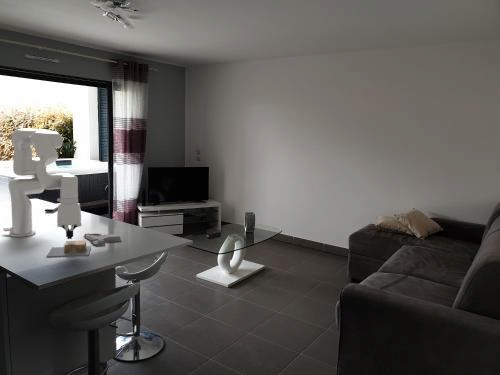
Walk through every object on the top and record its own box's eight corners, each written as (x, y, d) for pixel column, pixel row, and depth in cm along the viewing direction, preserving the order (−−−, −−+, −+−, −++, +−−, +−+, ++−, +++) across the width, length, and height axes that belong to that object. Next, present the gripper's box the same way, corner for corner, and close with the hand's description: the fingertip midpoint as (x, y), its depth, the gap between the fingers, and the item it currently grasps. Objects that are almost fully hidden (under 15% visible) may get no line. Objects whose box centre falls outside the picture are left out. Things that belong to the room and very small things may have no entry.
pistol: (125, 237, 207) (94, 241, 197) (125, 242, 208) (95, 247, 197) (111, 229, 222) (82, 233, 212) (111, 234, 223) (82, 238, 212)
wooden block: (64, 245, 182) (84, 244, 185) (66, 241, 189) (86, 240, 191) (64, 253, 183) (84, 252, 185) (66, 248, 189) (86, 248, 192)
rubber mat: (46, 257, 177) (46, 256, 177) (52, 248, 190) (52, 247, 190) (88, 255, 183) (88, 254, 182) (91, 247, 196) (91, 246, 196)
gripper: (50, 202, 177) (51, 241, 180) (85, 202, 182) (85, 239, 184) (53, 199, 184) (54, 236, 187) (87, 199, 189) (87, 235, 191)
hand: (69, 238), depth 186 cm, fingers closed
